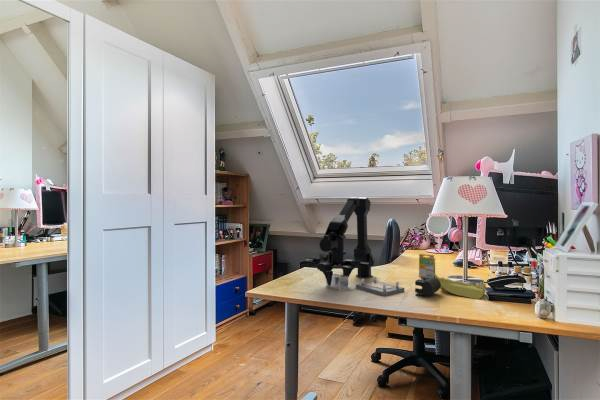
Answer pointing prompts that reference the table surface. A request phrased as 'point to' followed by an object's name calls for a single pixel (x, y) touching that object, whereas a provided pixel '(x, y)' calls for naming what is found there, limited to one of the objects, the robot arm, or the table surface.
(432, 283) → the end cap
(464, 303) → the table surface
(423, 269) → the crayon box
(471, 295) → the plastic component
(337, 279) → the drive
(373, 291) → the tray
